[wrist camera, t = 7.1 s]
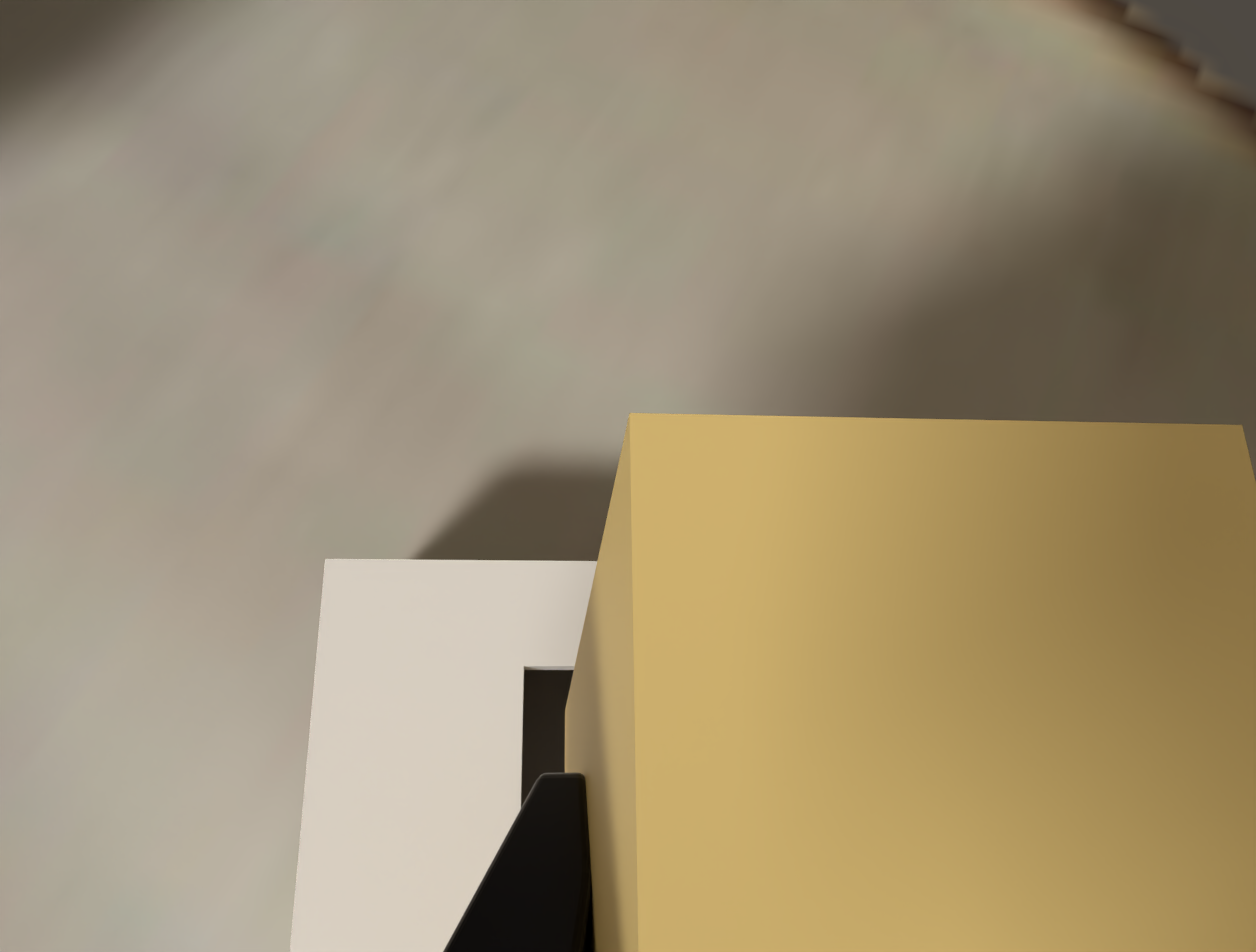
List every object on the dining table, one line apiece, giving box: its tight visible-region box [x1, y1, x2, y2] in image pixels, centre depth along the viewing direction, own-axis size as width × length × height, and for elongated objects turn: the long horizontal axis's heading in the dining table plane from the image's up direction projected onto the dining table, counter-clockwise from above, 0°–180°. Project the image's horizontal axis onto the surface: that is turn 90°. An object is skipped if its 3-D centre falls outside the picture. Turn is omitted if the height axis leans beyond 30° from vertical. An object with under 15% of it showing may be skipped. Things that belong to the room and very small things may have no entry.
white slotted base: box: [290, 559, 597, 952], centre depth 19 cm, size 12×12×4 cm
